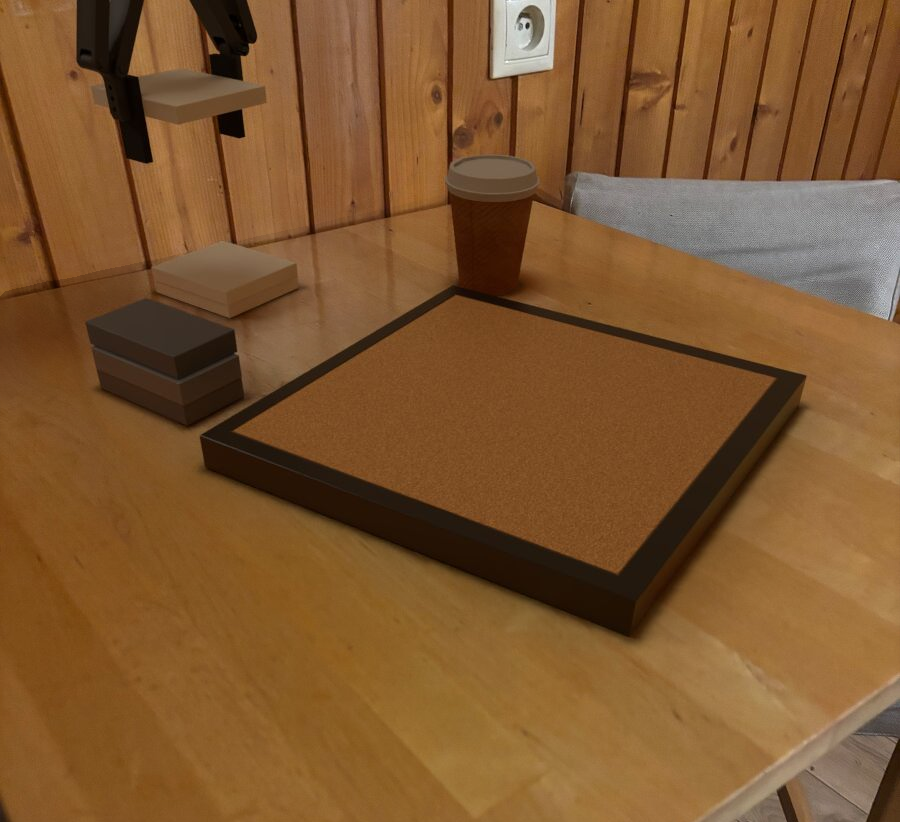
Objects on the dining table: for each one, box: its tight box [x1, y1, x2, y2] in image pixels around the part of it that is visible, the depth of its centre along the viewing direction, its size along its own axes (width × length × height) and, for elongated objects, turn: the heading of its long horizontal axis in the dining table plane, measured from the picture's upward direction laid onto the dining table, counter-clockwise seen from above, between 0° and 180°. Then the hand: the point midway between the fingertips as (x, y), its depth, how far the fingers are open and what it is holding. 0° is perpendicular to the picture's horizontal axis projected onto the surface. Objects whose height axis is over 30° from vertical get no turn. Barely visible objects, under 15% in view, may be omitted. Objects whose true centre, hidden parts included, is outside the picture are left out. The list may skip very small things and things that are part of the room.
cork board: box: [199, 284, 808, 637], centre depth 75 cm, size 36×3×35 cm
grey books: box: [84, 297, 245, 427], centre depth 79 cm, size 12×7×6 cm, turn 54°
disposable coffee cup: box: [444, 153, 541, 296], centre depth 97 cm, size 10×10×12 cm
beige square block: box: [150, 240, 300, 319], centre depth 98 cm, size 11×10×3 cm
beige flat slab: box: [90, 67, 268, 125], centre depth 81 cm, size 11×10×1 cm
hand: (187, 147), depth 84 cm, fingers closed on beige flat slab, 10 cm apart
